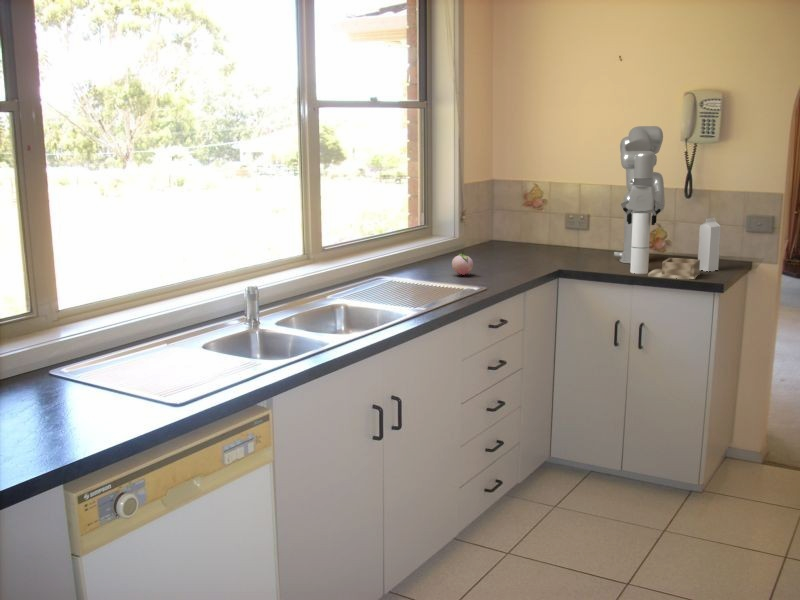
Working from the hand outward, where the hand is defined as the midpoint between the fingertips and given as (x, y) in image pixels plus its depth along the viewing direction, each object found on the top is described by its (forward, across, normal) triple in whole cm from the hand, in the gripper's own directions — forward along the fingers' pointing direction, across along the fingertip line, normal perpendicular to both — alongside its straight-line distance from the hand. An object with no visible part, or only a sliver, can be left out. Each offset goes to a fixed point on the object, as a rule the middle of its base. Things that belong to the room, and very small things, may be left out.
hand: (641, 224), depth 355 cm
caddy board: (+20, +14, 0) cm, 25 cm away
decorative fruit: (+21, -64, -38) cm, 77 cm away
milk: (+20, +24, +18) cm, 36 cm away
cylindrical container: (+20, 0, 0) cm, 21 cm away
